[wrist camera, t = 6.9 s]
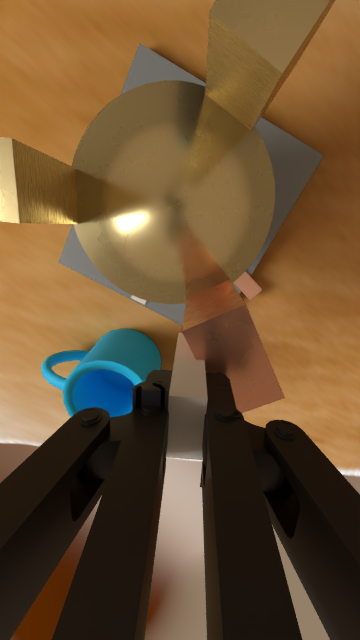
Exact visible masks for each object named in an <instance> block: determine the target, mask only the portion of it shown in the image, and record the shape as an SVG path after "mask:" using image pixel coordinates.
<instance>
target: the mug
mask: <svg viewBox="0 0 360 640" xmlns="http://www.w3.org/2000/svg"><path fill="white" fill-rule="evenodd" d="M74 360H78V361H81V362H80V363H79V364H78V365H77V366H76V368H75V369H74V370H73V371H72V373H71V374H70V375H69V376H68V378H67V379H66V378H63V377H61V376H59V375H57V374H56V373H55V372H54V371H52V369H51V368H52V367H53V366H54V365H56V364H58V363H61V362H65V361H74ZM41 369H42V374H43V377H44V378H45V379H46V380H47V381H48V382H49V383H50V384H52V385H53V386H55V387H57V388H59V389H61V390H63V400H64V405H65V407H66V409H67V411H68V414H69V415H70V416H71V417H72V416H73V415H74V414H76V413H77V412H79V411H80V410H83V409H86V408H92V407H96V408H102V409H104V410H106V411H107V412H108V413H109V414H110V417H117V416H122V415H126V414H128V413H130V412H131V411H132V389H133V388H134V386H135V385H137V384H139V383H141V382H145V381H146V378H147V375H148V374H149V373H150V372H151V371H152V370H160V369H161V356H160V353H159V350H158V348H157V347H156V345H155V344H154V342H153V341H152V340H151V339H150V338H148V337H147V336H146V335H145V334H143V333H141V332H138V331H135V330H133V329H118V330H113V331H110V332H109V333H107V334H106V335H104V336H102V338H101V339H100V340H99V341H98V342H97V343H96V344H95V346H94V347H93V348H92V349H91V350H90V351H79V350H73V351H63V352H59V353H55V354H53V355H51V356H49V357H48V358H46V359H45V361H44V362H43V364H42V366H41Z"/></svg>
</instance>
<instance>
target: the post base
mask: <svg viewBox="0 0 360 640" xmlns="http://www.w3.org/2000/svg"><path fill="white" fill-rule="evenodd" d="M163 80H179V81H186V82H193V83H196V84H199V85H202V86H205V87H206V83H205V82H203V81H201V80H200V79H198V78H196V77H195V76H193V75H191V74H190V73H188V72H186V71H185V70H183V69H181V68H180V67H178V66H177V65H175V64H173V63H172V62H170V61H168V60H167V59H165V58H163V57H162V56H160V55H158V54H157V53H155V52H154V51H152V50H150V49H149V48H147V47H145V46H144V45H142V44H140V43H139V46H138V49H137V51H136V54H135V57H134V59H133V62H132V65H131V68H130V70H129V73H128V76H127V78H126V81H125V84H124V87H123V89H122V92H121V94H123V93H125V92H127V91H129V90H131V89H133V88H135V87H138V86H141V85H144V84H147V83H151V82H157V81H163ZM255 127H256V129H257V130H258V132H259V134H260V135H261V137H262V139H263V141H264V144H265V146H266V148H267V151H268V153H269V157H270V160H271V164H272V168H273V174H274V181H275V203H274V213H273V217H272V221H271V226H270V229H269V232H268V235H267V237H266V240H265V242H264V244H263V246H262V248H261V250H260V252H259V254H258V255H257V257H256V258H255V260H254V261H253V263H252V264H251V265H250V266H249V268H248V269H247V270H246V271H245V272H244V273H243V274H242V275H241V276H240V277H239V278H238V279H237V280H236V281H235V282H233V285H234V286H235V288H236V290H237V291H238V293H239V294H240V293H241V291H242V292H243V293H244V294H245V295H246V297H247V298H248V299H249V300H251V299H252V298H253V297H254V296H256V295H257V294H258V293H259V292H260V291H261V290H262V289H261V288H260V287H259V286H258V284H257V283H256V282H255V281H254V280H253V279H252V278H251V277H250V276H251V275H252V273H253V272H254V270H255V268H256V267H257V265H258V263H259V262H260V260H261V258H262V257H263V255H264V253H265V252H266V250H267V248H268V247H269V245H270V244H271V242H272V240H273V239H274V237H275V235H276V234H277V232H278V230H279V229H280V227H281V225H282V224H283V222H284V221H285V219H286V217H287V216H288V214H289V212H290V211H291V209H292V207H293V206H294V204H295V202H296V201H297V199H298V198H299V196H300V194H301V193H302V191H303V189H304V188H305V186H306V184H307V183H308V181H309V179H310V178H311V176H312V174H313V173H314V171H315V170H316V168H317V166H318V165H319V163H320V161H321V160H322V158H323V156H324V155H323V154H321V153H320V152H318V151H316V150H315V149H313V148H311V147H310V146H308V145H306V144H305V143H303V142H302V141H300V140H298V139H297V138H295V137H293V136H292V135H290V134H288V133H287V132H285V131H283V130H282V129H280V128H278V127H277V126H275V125H274V124H272V123H270V122H269V121H267V120H265V119H264V118H262V117H261V118H260V120H259V121H258V123H257V124H256V126H255ZM59 263H61V264H63V265H65V266H67V267H69V268H71V269H72V270H74V271H76V272H78V273H80V274H82V275H84V276H86V277H88V278H90V279H92V280H94V281H96V282H98V283H100V284H102V285H104V286H106V287H108V288H110V289H112V290H114V291H116V292H117V293H119V294H121V295H123V296H125V297H127V298H129V299H131V300H133V301H135V302H137V303H139V304H141V305H143V306H145V307H147V308H149V309H151V310H153V311H155V312H157V313H159V314H161V315H162V316H164V317H166V318H168V319H170V320H172V321H174V322H176V323H178V324H180V325H182V326H183V319H184V313H185V306H186V303H183V304H161V303H155V302H150V301H147V300H143V299H140V298H138V297H135V296H133V295H131V294H128V293H127V292H125V291H123V290H122V289H120V288H118V287H117V286H116V285H114V284H113V283H112V282H110V281H109V280H108V279H107V278H106V277H105V276H104V275H103V274H102V273H101V272H100V271H99V270H98V269H97V268H96V267H95V265H94V264H93V263H92V262H91V260H90V259H89V257H88V256H87V254H86V252H85V251H84V249H83V247H82V245H81V243H80V241H79V239H78V236H77V233H76V230H75V228H74V225H72V227H71V230H70V233H69V235H68V238H67V241H66V243H65V246H64V249H63V252H62V254H61V257H60V260H59Z"/></svg>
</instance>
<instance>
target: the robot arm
mask: <svg viewBox="0 0 360 640" xmlns="http://www.w3.org/2000/svg"><path fill="white" fill-rule="evenodd" d="M166 457H172V458H184V459H197V460H202V458H203V462H202V473H201V483H200V487H202V496H203V525H204V526H203V527H204V558H205V589H206V619H207V640H302V637H301V633H300V630H299V625H298V622H297V618H296V614H295V610H294V607H293V603H292V599H291V595H290V592H289V588H288V584H287V580H286V577H285V572H284V569H283V565H282V561H281V557H280V554H279V550H278V546H277V542H276V538H275V535H274V531H273V527H274V529H275V531H276V533H277V535H278V537H279V539H280V541H281V543H282V545H283V547H284V549H285V551H286V553H287V555H288V557H289V559H290V560H291V563H292V564H293V567H294V569H295V571H296V573H297V575H298V577H299V579H300V580H301V583H302V584H303V586H304V588H305V590H306V592H307V594H308V596H309V598H310V600H311V602H312V604H313V606H314V608H315V610H316V612H317V614H318V616H319V618H320V620H321V622H322V624H323V626H324V628H325V630H326V632H327V634H328V636H329V638H330V640H360V494H359V493H358V492H357V491H356V490H355V489H354V488H353V487H352V486H351V484H350V483H349V482H348V481H347V480H346V479H345V477H344V476H343V475H342V474H341V473H340V472H339V471H338V470H337V468H336V467H335V466H334V465H333V464H332V463H331V462H330V461H329V459H328V458H327V457H326V456H325V455H324V454H323V453H322V452H321V450H320V449H319V448H318V447H317V446H316V445H315V444H314V442H313V441H312V440H311V439H310V438H309V437H308V436H307V435H306V433H305V432H304V431H303V430H302V429H301V428H299V427H298V426H297V425H295V424H293V423H291V422H288V421H284V420H273V421H270V422H268V423H267V424H266V428H263V427H259V426H256V425H253V424H250V423H249V422H247V421H245V420H244V417H243V415H242V413H241V412H240V411H239V410H237V408H236V404H235V399H234V395H233V392H232V387H231V383H230V379H229V378H228V377H227V376H226V375H225V374H218V373H206V372H205V360H196V359H195V357H194V355H193V353H192V351H191V349H190V347H189V345H188V343H187V341H186V339H185V337H184V335H183V333H179V332H178V339H177V345H176V352H175V358H174V365H173V371H167V370H152V371H151V372H150V373H149V374H148V375H147V378H146V381H145V382H141V383H139V384H137V385H135V386H134V388H133V389H132V411H131V412H130V413H128V414H126V415H122V416H117V417H110V414H109V413H108V412H107V411H106V410H104V409H102V408H96V407H92V408H86V409H83V410H80V411H79V412H77V413H76V414H74V415H73V416H72V417H71V418H70V419H69V420H68V421H67V422H66V423H65V424H63V425H62V426H61V427H60V428H59V429H58V430H57V431H56V432H55V433H54V434H53V435H52V436H51V437H49V438H48V439H47V440H46V441H45V442H44V443H43V444H42V445H41V446H40V447H39V448H38V449H37V450H36V451H34V452H33V453H32V455H30V456H29V457H28V458H27V459H26V460H25V461H24V462H23V463H22V464H21V465H19V466H18V468H16V469H15V470H14V471H13V472H12V473H11V474H10V475H9V476H8V477H7V478H6V479H4V481H2V482H1V483H0V640H10V639H11V637H12V636H13V634H14V632H15V631H16V629H17V628H18V626H19V625H20V623H21V621H22V620H23V618H24V617H25V615H26V613H27V612H28V610H29V609H30V607H31V605H32V604H33V603H34V601H35V599H36V598H37V596H38V595H39V593H40V592H41V590H42V588H43V587H44V585H45V584H46V582H47V581H48V579H49V577H50V576H51V574H52V573H53V571H54V570H55V568H56V566H57V565H58V563H59V561H60V560H61V558H62V557H63V555H64V554H65V552H66V551H67V549H68V548H69V546H70V544H71V543H72V541H73V540H74V538H75V537H76V535H77V533H78V532H79V530H80V529H81V527H82V526H83V524H84V522H85V521H86V519H87V518H88V516H89V515H90V513H91V511H92V510H93V508H94V507H95V505H96V504H97V502H98V500H99V499H100V497H101V496H102V497H101V500H100V503H99V506H98V509H97V512H96V515H95V518H94V520H93V523H92V526H91V529H90V532H89V535H88V537H87V540H86V543H85V546H84V549H83V552H82V555H81V557H80V561H79V563H78V566H77V569H76V572H75V575H74V578H73V580H72V583H71V586H70V589H69V592H68V595H67V598H66V600H65V603H64V607H63V609H62V612H61V615H60V618H59V621H58V624H57V626H56V629H55V632H54V635H53V638H52V640H144V639H145V630H146V622H147V614H148V606H149V598H150V590H151V582H152V574H153V565H154V557H155V549H156V541H157V533H158V525H159V517H160V508H161V500H162V493H163V484H164V476H165V468H166ZM272 525H273V527H272Z"/></svg>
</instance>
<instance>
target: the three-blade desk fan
mask: <svg viewBox="0 0 360 640" xmlns="http://www.w3.org/2000/svg"><path fill="white" fill-rule="evenodd" d="M334 2H335V0H216V1H215V3H214V5H213V6H212V8H211V10H210V18H209V36H208V53H207V70H206V87H205V86H202V85H199V84H196V83H193V82H186V81H179V80H163V81H157V82H151V83H147V84H144V85H141V86H138V87H135V88H133V89H131V90H129V91H127V92H125V93H123V94H121V95H120V96H118V97H117V98H115V99H114V100H113V101H111V102H110V103H109V104H108V105H107V106H105V107H104V108H103V109H102V110H101V111H100V112H99V113H98V114H97V116H96V117H95V118H94V120H93V121H92V122H91V123H90V125H89V126H88V128H87V129H86V131H85V133H84V135H83V136H82V138H81V140H80V143H79V145H78V148H77V150H76V152H75V156H74V159H73V163H72V167H71V166H69V165H67V164H65V163H63V162H61V161H59V160H57V159H54V158H52V157H50V156H48V155H46V154H44V153H42V152H40V151H38V150H35V149H33V148H31V147H29V146H27V145H25V144H23V143H21V142H18V141H16V140H14V139H12V138H2V137H0V221H3V222H14V223H50V224H73V225H74V228H75V230H76V233H77V236H78V239H79V241H80V243H81V245H82V247H83V249H84V251H85V252H86V254H87V256H88V257H89V259H90V260H91V262H92V263H93V264H94V265H95V267H96V268H97V269H98V270H99V271H100V272H101V273H102V274H103V275H104V276H105V277H106V278H107V279H108V280H109V281H110V282H112V283H113V284H114V285H116V286H117V287H118V288H120V289H122V290H123V291H125V292H127V293H128V294H131V295H133V296H135V297H138V298H140V299H143V300H147V301H150V302H155V303H161V304H183V303H186V306H185V313H184V319H183V326H182V333H183V335H184V337H185V339H186V341H187V343H188V345H189V347H190V349H191V351H192V353H193V355H194V357H195V359H196V360H205V372H206V373H218V374H225V375H226V376H227V377H228V378H229V379H230V383H231V387H232V392H233V395H234V399H235V404H236V408H237V410H239V411H240V412H241V413H243V412H246V411H249V410H252V409H255V408H257V407H260V406H263V405H266V404H269V403H272V402H275V401H277V400H280V399H283V398H285V397H284V395H283V392H282V390H281V388H280V385H279V383H278V381H277V378H276V376H275V373H274V371H273V369H272V366H271V364H270V361H269V359H268V357H267V354H266V352H265V349H264V347H263V345H262V342H261V340H260V338H259V335H258V333H257V330H256V328H255V326H254V323H253V321H252V318H251V316H250V314H249V311H248V309H247V306H246V304H245V303H244V301H243V299H242V298H241V296H240V294H239V293H238V291H237V290H236V288H235V286H234V285H233V282H235V281H236V280H237V279H238V278H239V277H240V276H241V275H242V274H243V273H244V272H245V271H246V270H247V269H248V268H249V266H250V265H251V264H252V263H253V261H254V260H255V258H256V257H257V255H258V254H259V252H260V250H261V248H262V246H263V244H264V242H265V240H266V237H267V235H268V232H269V229H270V226H271V221H272V217H273V213H274V203H275V181H274V174H273V168H272V164H271V160H270V157H269V153H268V151H267V148H266V146H265V144H264V141H263V139H262V137H261V135H260V134H259V132H258V130H257V129H256V127H255V126H256V124H257V123H258V121H259V120H260V118H261V117H262V115H263V114H264V112H265V111H266V109H267V108H268V106H269V105H270V103H271V102H272V100H273V99H274V97H275V96H276V94H277V92H278V91H279V89H280V88H281V86H282V85H283V83H284V82H285V80H286V79H287V77H288V76H289V74H290V73H291V71H292V70H293V68H294V67H295V65H296V64H297V62H298V61H299V59H300V57H301V56H302V54H303V52H304V51H305V49H306V47H307V46H308V44H309V43H310V41H311V39H312V38H313V36H314V34H315V33H316V31H317V29H318V28H319V26H320V25H321V23H322V21H323V20H324V18H325V16H326V15H327V13H328V11H329V10H330V8H331V7H332V5H333V3H334Z"/></svg>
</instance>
